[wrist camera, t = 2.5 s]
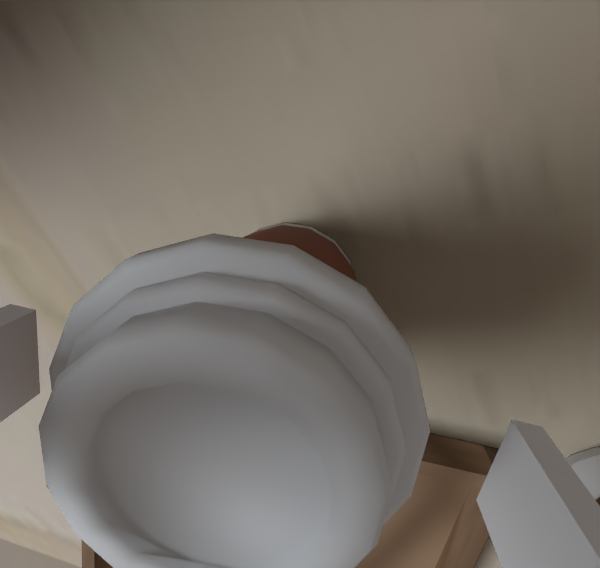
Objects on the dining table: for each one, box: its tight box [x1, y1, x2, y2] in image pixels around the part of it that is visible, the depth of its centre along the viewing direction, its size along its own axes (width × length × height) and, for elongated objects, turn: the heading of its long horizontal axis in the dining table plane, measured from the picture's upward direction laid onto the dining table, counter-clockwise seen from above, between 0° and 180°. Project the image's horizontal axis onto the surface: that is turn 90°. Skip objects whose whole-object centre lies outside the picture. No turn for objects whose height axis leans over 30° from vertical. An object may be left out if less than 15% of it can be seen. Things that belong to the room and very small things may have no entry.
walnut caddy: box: [82, 433, 498, 568], centre depth 22 cm, size 22×15×2 cm
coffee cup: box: [39, 223, 430, 568], centre depth 13 cm, size 9×9×12 cm
